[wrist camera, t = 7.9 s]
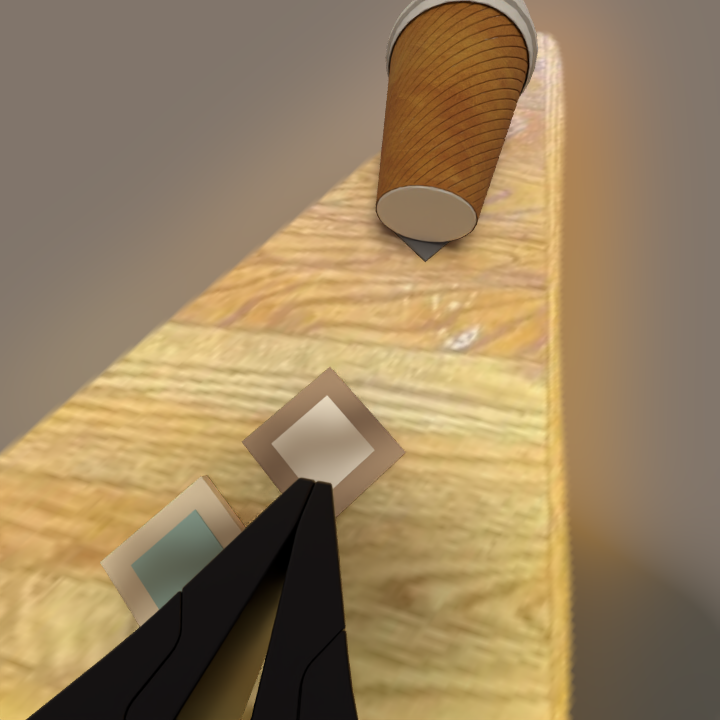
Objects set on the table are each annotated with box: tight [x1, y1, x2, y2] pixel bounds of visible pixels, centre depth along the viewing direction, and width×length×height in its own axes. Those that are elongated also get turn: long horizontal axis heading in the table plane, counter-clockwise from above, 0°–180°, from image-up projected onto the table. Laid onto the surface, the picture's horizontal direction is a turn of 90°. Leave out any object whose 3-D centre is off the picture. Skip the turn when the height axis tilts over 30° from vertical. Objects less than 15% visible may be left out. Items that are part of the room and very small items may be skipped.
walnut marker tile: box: [242, 367, 405, 517], centre depth 22 cm, size 7×7×1 cm
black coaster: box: [395, 232, 450, 262], centre depth 26 cm, size 4×4×1 cm
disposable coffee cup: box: [376, 0, 538, 242], centre depth 23 cm, size 10×10×12 cm
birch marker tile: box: [100, 475, 246, 626], centre depth 20 cm, size 7×7×1 cm
